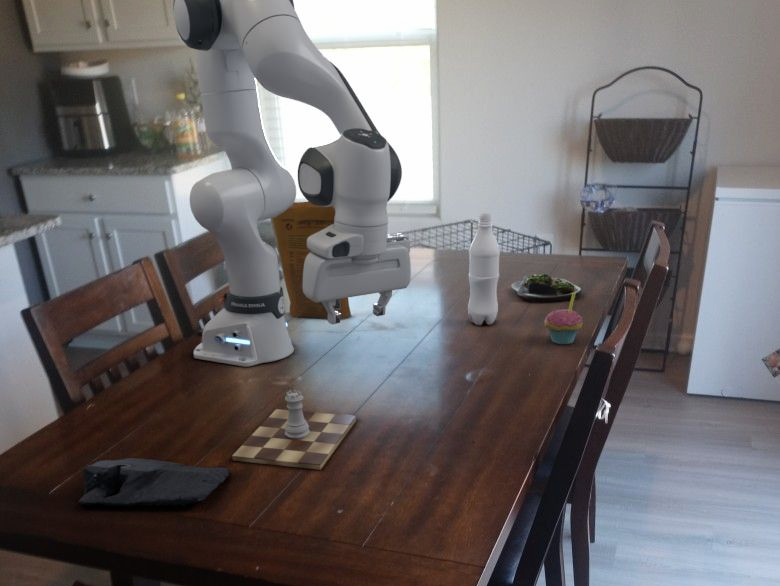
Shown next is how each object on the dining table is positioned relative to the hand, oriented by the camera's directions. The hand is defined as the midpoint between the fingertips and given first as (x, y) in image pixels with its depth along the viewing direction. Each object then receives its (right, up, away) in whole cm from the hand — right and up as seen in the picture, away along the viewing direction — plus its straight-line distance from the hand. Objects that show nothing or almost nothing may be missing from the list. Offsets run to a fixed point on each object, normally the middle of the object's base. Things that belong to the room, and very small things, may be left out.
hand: (356, 318), depth 147 cm
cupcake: (+45, +5, +44) cm, 63 cm away
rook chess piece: (-11, -20, +3) cm, 23 cm away
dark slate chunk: (-32, -30, -10) cm, 45 cm away
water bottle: (+28, +13, +57) cm, 65 cm away
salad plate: (+47, +24, +75) cm, 92 cm away
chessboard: (-11, -21, +4) cm, 24 cm away
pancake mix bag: (-12, +16, +65) cm, 67 cm away
